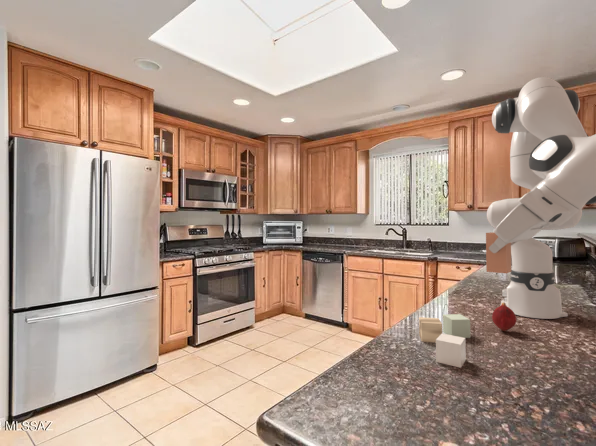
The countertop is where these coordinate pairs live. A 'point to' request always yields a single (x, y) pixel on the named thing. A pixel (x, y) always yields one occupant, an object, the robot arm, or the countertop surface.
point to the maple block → (429, 329)
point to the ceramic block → (450, 350)
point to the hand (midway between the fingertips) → (495, 250)
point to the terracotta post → (497, 256)
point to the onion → (504, 317)
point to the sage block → (456, 325)
